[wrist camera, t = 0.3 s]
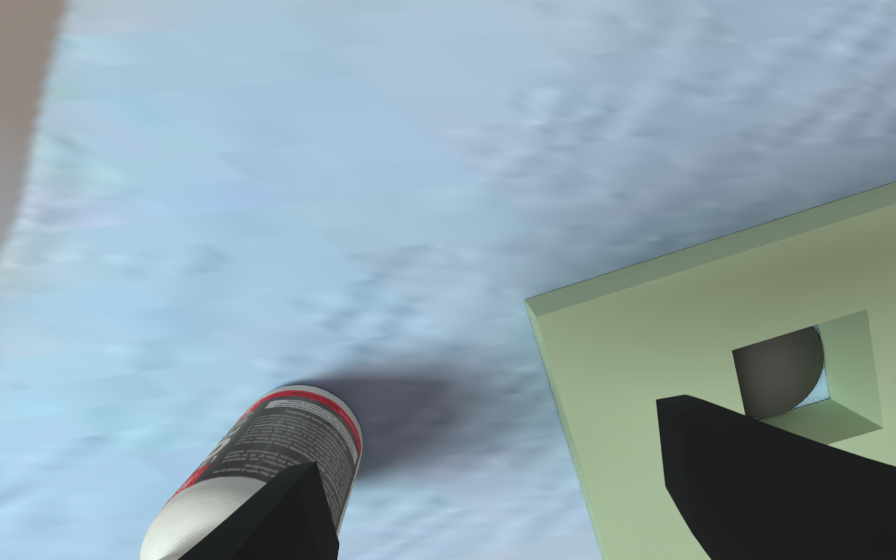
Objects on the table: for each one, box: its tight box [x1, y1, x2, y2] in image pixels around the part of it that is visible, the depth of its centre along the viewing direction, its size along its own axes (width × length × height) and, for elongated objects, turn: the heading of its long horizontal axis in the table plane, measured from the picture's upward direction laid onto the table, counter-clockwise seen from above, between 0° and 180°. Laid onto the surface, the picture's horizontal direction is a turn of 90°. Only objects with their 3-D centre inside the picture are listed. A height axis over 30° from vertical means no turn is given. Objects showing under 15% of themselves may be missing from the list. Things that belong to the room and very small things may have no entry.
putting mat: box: [525, 182, 896, 560], centre depth 19 cm, size 20×18×2 cm
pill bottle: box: [140, 385, 363, 560], centre depth 15 cm, size 5×5×10 cm
